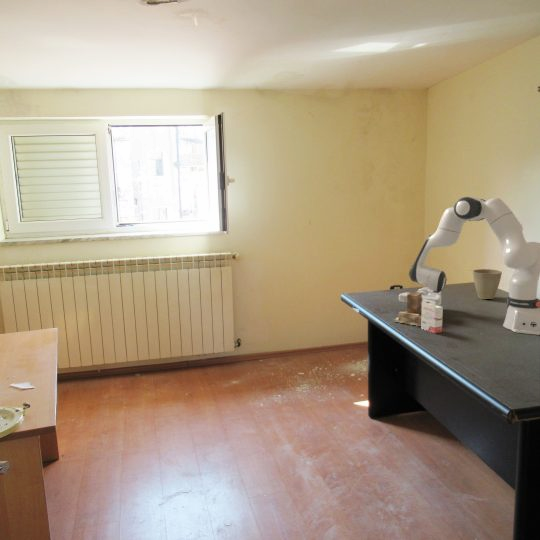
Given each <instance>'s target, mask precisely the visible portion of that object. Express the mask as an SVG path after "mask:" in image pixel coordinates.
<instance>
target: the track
mask: <svg viewBox="0 0 540 540" xmlns="http://www.w3.org/2000/svg"><path fill="white" fill-rule="evenodd" d="M421 314H422V311H421ZM421 314H420V315H419V314H413V313H407V310H405V311H398V317H396V318H394V319H393V323H394V322H400V323H405V324H404V325H406V324H410V325H409V326H412V325H416V326H415V327H418V326H421ZM400 323H399V324H400Z"/></svg>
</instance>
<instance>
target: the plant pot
mask: <svg viewBox="0 0 540 540" xmlns="http://www.w3.org/2000/svg"><path fill="white" fill-rule="evenodd" d="M472 274H473V282H474V286H475V291H476V294H477V296H478V299H479V298H480V299H479V300H482V299H492V300H494V298H495V296H496V293H497V292H498V288H499V285H500V282H501V278H502V271H501V270H497V269H492V268H490V269H489V268H488V269H487V268H479V269H474V270H472Z"/></svg>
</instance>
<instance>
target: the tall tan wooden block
mask: <svg viewBox="0 0 540 540" xmlns="http://www.w3.org/2000/svg"><path fill="white" fill-rule="evenodd" d="M421 299H422V293H420V292H416V291H411V292H409V294H408V295H407V302H406V311H407V313H413V314H419V315H420V314H421V312H422V306H421V305H419V301H421Z"/></svg>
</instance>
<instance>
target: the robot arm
mask: <svg viewBox="0 0 540 540" xmlns="http://www.w3.org/2000/svg"><path fill="white" fill-rule="evenodd" d="M483 220H485V221H486V222H487V224H488V225H489V227H490V229H491V230H492V231H493V233H494V234H495V237H497V239H498V242H499V243H500V246H501V249H502V262H503V264H504V265H505V266H506V267H507V268H510V269H512V270H513V269H514V272H513V275H512V276H511V277H510V280H509V288H508V290H509V291H508V295H507V301H506V309H507V311H506V314H505V319H504V321H503V323H502V326H503V327H504V328H505V329H508V330H510V331H512V332H514V333H517V334H527V335H535V336H536V335H538V336H540V299H539V298H537V297H538V294H537V293H538V284H539V279H540V242H537V241H529V242H528V241H527V240H526V238H525V235H524V233H523V230H524V228H523V224H521V223H520V221H519V220H518V218H517V217H516V215H515V214H514V212H513V211H512V210H511V208H510V207H509V206H508V205H507V204H506V203H505V202H504V201H503V200H502V199H500V198H499V197H492V198H489V199H487V200H485V199H482V198H478V197H473V196H465V197H464V196H463V197H460V198H459V199H458V200H456V202H455V203H454V206H453V207H452V206H451V207H448V208H446V209H445V210H444V212H443V213H442V216H441V218H440V220H439V222H438V226H437V229H436V231H435V232H434V233H433V234H430V235H428V237H427V238H426V240H425V241H424V243H423V245H422V246H421V248H420V251H419V252H418V255H417V256H416V259H415V260H414V263H413V264H412V265H411V267H410V269H409V270H408V271H409V272H408V276H409V279H410V280H411V281H412V282H414V283H418V284H422V285H423V287H422V288H419V289H418V290H416V291H415V292H420V293H422V299H421V301H419V305H421V307H422V300H423V298H424V299H428V300H432V301H435V302H436V305H437V306H441V304H442V300H443V299H442V291H443V290H444V289H445V287H446V284H447V280H448V279H447V276H446V275H447V274H446V273H445V271H443V270H441V269H438V268H435V267H432V266H428V265H426V264H425V262H426V261H427V258H428V256H429V255H430V252H431V251H432V250H433V249H436V248H446V247H451V246H453V245H455V244H456V243H457V241H458V240H459V238H460V235H461V231H462V230H463V225H464V224H465V223H467V221H468V222H479V221H483ZM409 293H410V292H402V293H399V295H398V301H399V302H401V303H402V302H403V303H407V295H408V294H409ZM427 303H430V302H427ZM430 304H431V303H430Z"/></svg>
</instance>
